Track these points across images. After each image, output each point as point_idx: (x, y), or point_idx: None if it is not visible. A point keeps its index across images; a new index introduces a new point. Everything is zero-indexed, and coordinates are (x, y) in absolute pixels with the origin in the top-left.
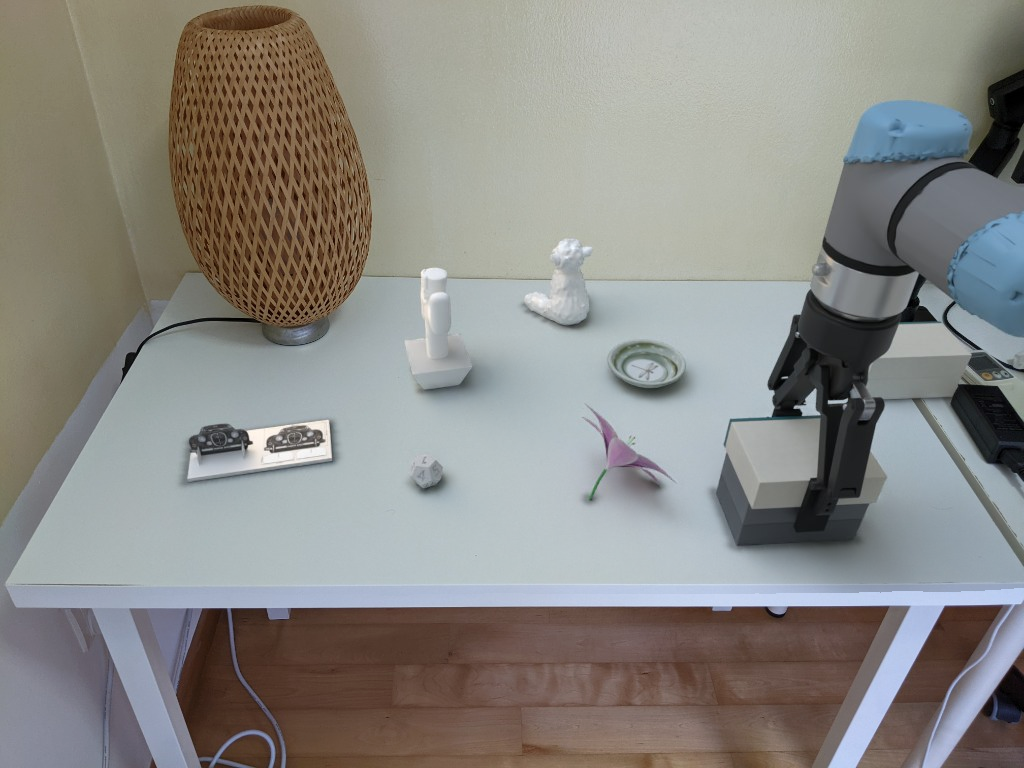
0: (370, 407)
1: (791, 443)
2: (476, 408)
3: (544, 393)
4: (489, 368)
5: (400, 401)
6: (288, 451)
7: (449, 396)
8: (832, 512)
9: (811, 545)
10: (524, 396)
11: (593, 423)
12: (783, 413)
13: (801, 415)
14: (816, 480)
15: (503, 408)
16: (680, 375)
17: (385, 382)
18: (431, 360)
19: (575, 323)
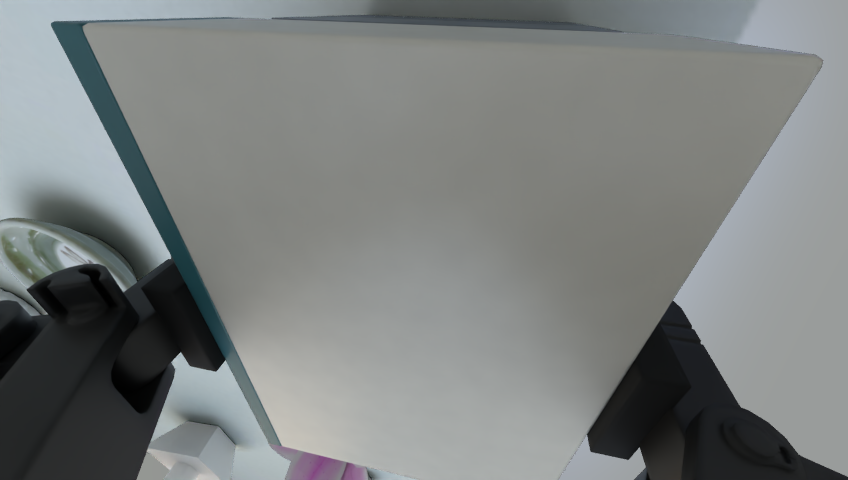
0: (271, 472)
1: (371, 387)
2: (251, 425)
3: (203, 375)
4: (178, 400)
5: (257, 459)
6: None
7: (238, 435)
8: (680, 312)
9: None
10: (216, 391)
11: (285, 455)
12: (203, 352)
13: (183, 284)
14: (616, 448)
15: (244, 410)
16: (78, 246)
17: (234, 459)
18: (202, 474)
19: (28, 306)
